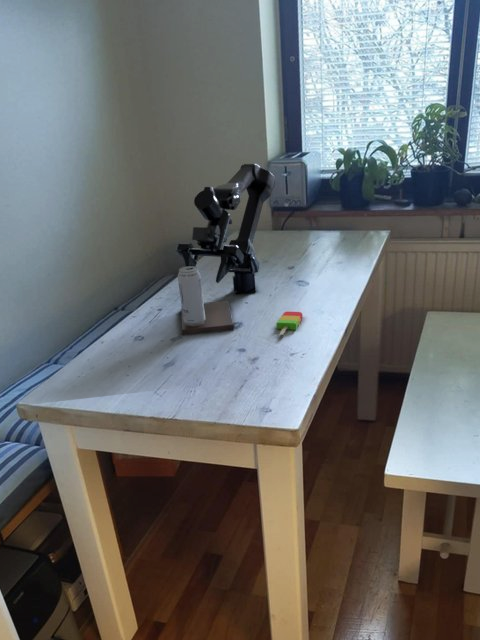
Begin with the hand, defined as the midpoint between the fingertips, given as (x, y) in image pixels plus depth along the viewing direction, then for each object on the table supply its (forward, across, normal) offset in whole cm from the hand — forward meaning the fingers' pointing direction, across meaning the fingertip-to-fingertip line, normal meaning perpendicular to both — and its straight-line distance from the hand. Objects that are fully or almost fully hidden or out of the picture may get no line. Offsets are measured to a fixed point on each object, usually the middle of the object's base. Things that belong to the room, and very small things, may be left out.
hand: (202, 281), depth 167 cm
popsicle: (+8, +25, +8) cm, 27 cm away
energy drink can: (+12, 0, +2) cm, 12 cm away
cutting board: (+8, 0, +8) cm, 11 cm away
